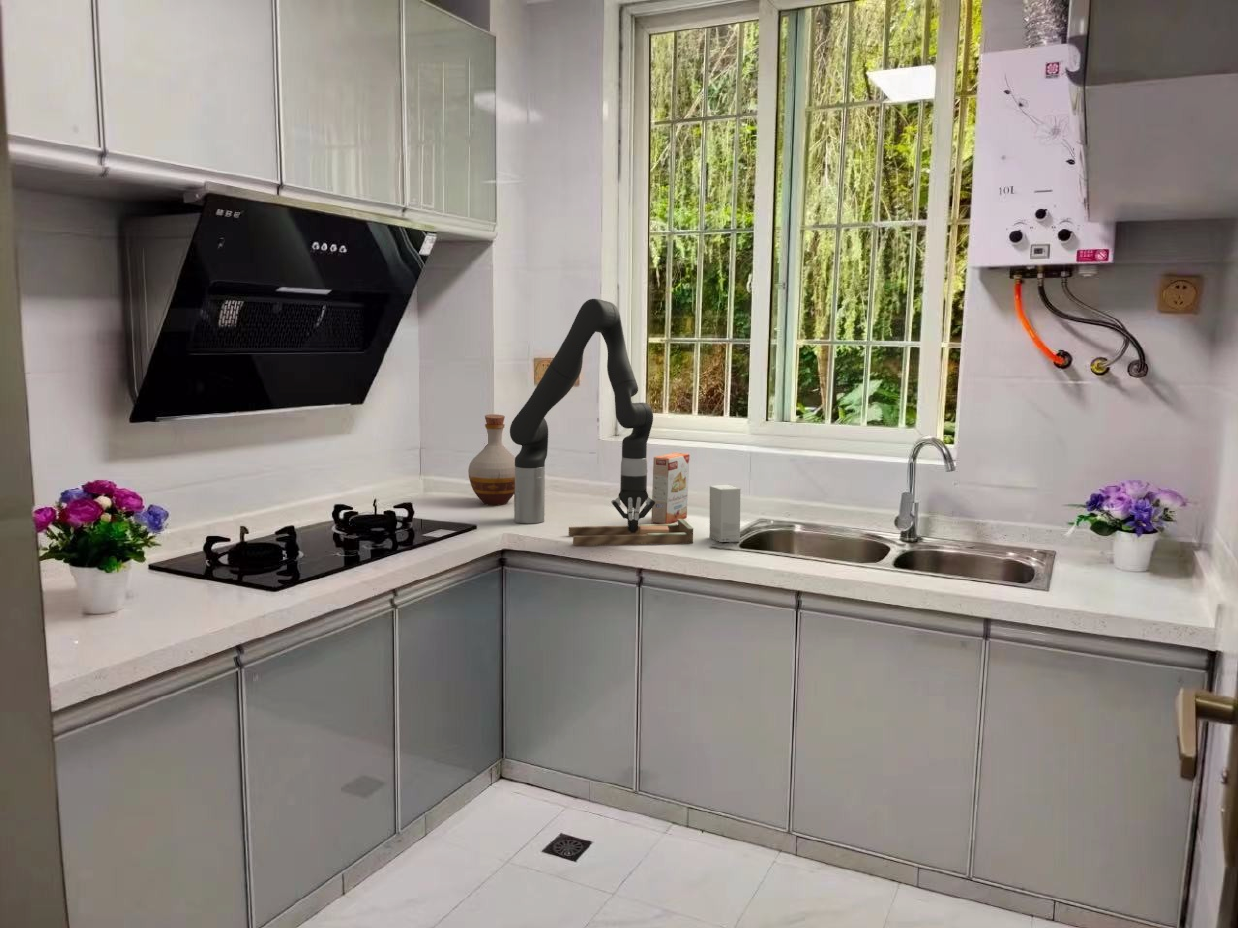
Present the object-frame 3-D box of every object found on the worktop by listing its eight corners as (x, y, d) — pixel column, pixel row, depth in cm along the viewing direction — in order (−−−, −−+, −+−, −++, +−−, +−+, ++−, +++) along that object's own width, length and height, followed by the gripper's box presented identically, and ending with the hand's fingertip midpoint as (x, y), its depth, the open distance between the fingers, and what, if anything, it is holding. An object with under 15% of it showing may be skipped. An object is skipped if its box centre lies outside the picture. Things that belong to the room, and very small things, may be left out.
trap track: (573, 545, 258) (573, 530, 257) (568, 535, 270) (568, 520, 270) (693, 543, 263) (693, 528, 263) (682, 532, 276) (682, 518, 275)
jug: (461, 499, 321) (460, 413, 317) (510, 495, 329) (510, 411, 324) (477, 509, 304) (476, 418, 299) (528, 506, 311) (528, 417, 307)
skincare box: (740, 542, 265) (742, 488, 263) (719, 543, 263) (720, 489, 261) (728, 535, 273) (729, 483, 271) (707, 537, 271) (709, 484, 269)
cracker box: (667, 525, 286) (669, 458, 282) (650, 523, 289) (652, 456, 285) (688, 517, 297) (690, 453, 294) (671, 515, 300) (673, 451, 297)
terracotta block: (640, 542, 263) (640, 529, 263) (639, 538, 268) (639, 525, 268) (668, 543, 264) (668, 529, 263) (667, 539, 269) (667, 525, 268)
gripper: (654, 470, 269) (652, 529, 271) (608, 471, 267) (607, 529, 269) (659, 474, 261) (657, 534, 264) (613, 475, 259) (612, 535, 262)
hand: (632, 532), depth 267 cm, fingers closed
